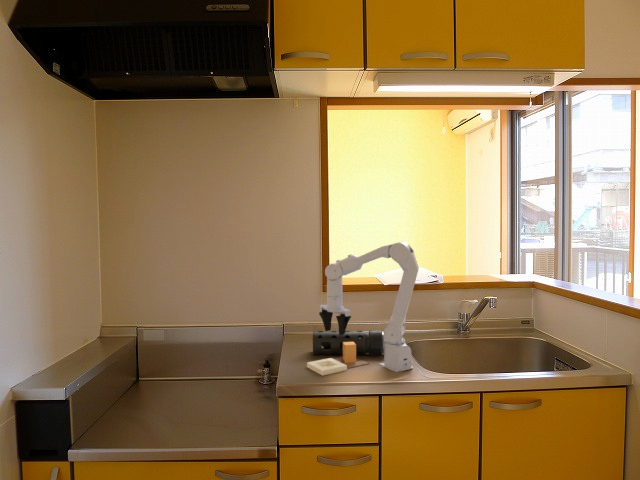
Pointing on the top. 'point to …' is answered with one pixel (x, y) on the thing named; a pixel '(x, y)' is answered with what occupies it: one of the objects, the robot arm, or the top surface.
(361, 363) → the pad
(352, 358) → the plug
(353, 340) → the muzzle brake
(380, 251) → the robot arm
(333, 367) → the socket block
